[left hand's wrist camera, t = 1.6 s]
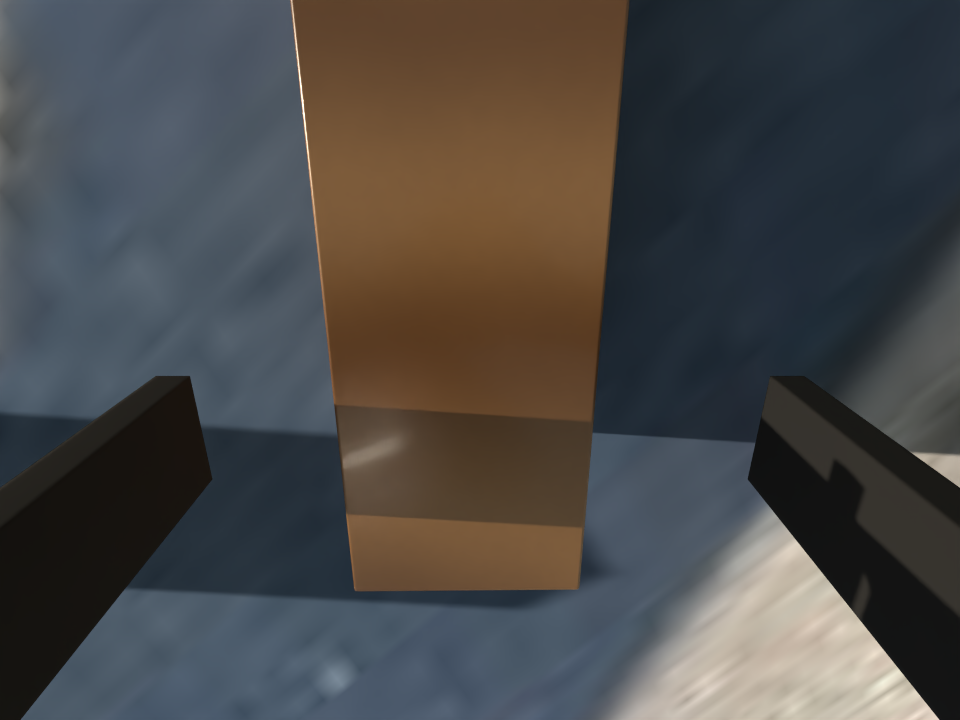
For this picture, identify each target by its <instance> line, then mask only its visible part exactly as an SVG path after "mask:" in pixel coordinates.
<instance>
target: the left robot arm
mask: <svg viewBox="0 0 960 720" xmlns="http://www.w3.org/2000/svg"><path fill="white" fill-rule="evenodd" d="M211 480H212V476H211V471H210V466H209V462H208V457H207V453H206V448H205V444H204V439H203V434H202V430H201V425H200V421H199V416H198V411H197V407H196V402H195V398H194V393H193V389H192V384H191V379H190V376H155V377H154V378H153V379H151V380H150V381H148V382H147V383H146V384H144V385H143V386H141V387H140V388H139V389H137V390H136V391H134V392H133V393H132V394H130V395H129V396H127V397H126V398H125V399H123V400H122V401H120V402H119V403H118V404H116V405H115V406H114V407H112V408H111V409H109V410H108V411H107V412H105V413H104V414H102V415H101V416H100V417H98V418H97V419H95V420H94V421H93V422H91V423H90V424H88V425H87V426H86V427H84V428H83V429H81V430H80V431H79V432H77V433H76V434H74V435H73V436H72V437H70V438H69V439H68V440H66V441H65V442H63V443H62V444H61V445H59V446H58V447H56V448H55V449H54V450H52V451H51V452H49V453H48V454H47V455H45V456H44V457H42V458H41V459H40V460H38V461H37V462H35V463H34V464H33V465H31V466H30V467H29V468H27V469H26V470H24V471H23V472H22V473H20V474H19V475H17V476H16V477H15V478H13V479H12V480H10V481H9V482H8V483H6V484H5V485H3V486H2V487H1V488H0V720H21V718H22V717H23V716H24V715H25V713H26V712H27V711H28V710H29V708H30V707H31V706H32V705H33V703H34V702H35V701H36V700H37V698H38V697H39V696H40V695H41V693H42V692H43V691H44V690H45V688H46V687H47V686H48V685H49V683H50V682H51V681H52V680H53V678H54V677H55V676H56V675H57V673H58V672H59V671H60V670H61V668H62V667H63V666H64V665H65V663H66V662H67V661H68V660H69V658H70V657H71V656H72V654H73V653H74V652H75V651H76V649H77V648H78V647H79V646H80V644H81V643H82V642H83V641H84V639H85V638H86V637H87V636H88V634H89V633H90V632H91V631H92V629H93V628H94V627H95V626H96V624H97V623H98V622H99V621H100V619H101V618H102V617H103V616H104V614H105V613H106V612H107V611H108V609H109V608H110V607H111V606H112V604H113V603H114V602H115V601H116V599H117V598H118V597H119V596H120V594H121V593H122V592H123V591H124V589H125V588H126V587H127V586H128V584H129V583H130V582H131V581H132V579H133V578H134V577H135V576H136V574H137V573H138V572H139V570H140V569H141V568H142V567H143V565H144V564H145V563H146V562H147V560H148V559H149V558H150V557H151V555H152V554H153V553H154V552H155V550H156V549H157V548H158V547H159V545H160V544H161V543H162V542H163V540H164V539H165V538H166V537H167V535H168V534H169V533H170V532H171V530H172V529H173V528H174V527H175V525H176V524H177V523H178V522H179V520H180V519H181V518H182V517H183V515H184V514H185V513H186V512H187V510H188V509H189V508H190V507H191V505H192V504H193V503H194V502H195V500H196V499H197V498H198V497H199V495H200V494H201V493H202V491H203V490H204V489H205V488H206V486H207V485H208V484H209V483H210V481H211ZM748 480H749V481H750V483H751V484H752V485H753V486H754V488H755V489H756V490H757V491H758V493H759V494H760V495H761V497H762V498H763V499H764V500H765V502H766V503H767V504H768V505H769V507H770V508H771V509H772V510H773V512H774V513H775V514H776V515H777V517H778V518H779V519H780V520H781V522H782V523H783V524H784V525H785V527H786V528H787V529H788V530H789V532H790V533H791V534H792V535H793V537H794V538H795V539H796V540H797V542H798V543H799V544H800V545H801V547H802V548H803V549H804V550H805V552H806V553H807V554H808V555H809V557H810V558H811V559H812V560H813V562H814V563H815V564H816V565H817V567H818V568H819V569H820V570H821V572H822V573H823V574H824V576H825V577H826V578H827V579H828V581H829V582H830V583H831V584H832V586H833V587H834V588H835V589H836V591H837V592H838V593H839V594H840V596H841V597H842V598H843V599H844V601H845V602H846V603H847V604H848V606H849V607H850V608H851V609H852V611H853V612H854V613H855V614H856V616H857V617H858V618H859V619H860V621H861V622H862V623H863V624H864V626H865V627H866V628H867V629H868V631H869V632H870V633H871V634H872V636H873V637H874V638H875V639H876V641H877V642H878V643H879V644H880V646H881V647H882V648H883V649H884V651H885V652H886V653H887V655H888V656H889V657H890V658H891V660H892V661H893V662H894V663H895V665H896V666H897V667H898V668H899V670H900V671H901V672H902V673H903V675H904V676H905V677H906V678H907V680H908V681H909V682H910V683H911V685H912V686H913V687H914V688H915V690H916V691H917V692H918V693H919V695H920V696H921V697H922V698H923V700H924V701H925V702H926V703H927V705H928V706H929V707H930V708H931V710H932V711H933V712H934V713H935V715H936V716H937V717H938V718H939V720H960V488H959V487H958V486H957V485H955V484H954V483H952V482H951V481H950V480H948V479H947V478H945V477H944V476H943V475H941V474H940V473H938V472H937V471H936V470H934V469H933V468H931V467H930V466H929V465H927V464H926V463H925V462H923V461H922V460H920V459H919V458H918V457H916V456H915V455H913V454H912V453H911V452H909V451H908V450H906V449H905V448H904V447H902V446H901V445H899V444H898V443H897V442H895V441H894V440H892V439H891V438H890V437H888V436H887V435H886V434H884V433H883V432H881V431H880V430H879V429H877V428H876V427H874V426H873V425H872V424H870V423H869V422H867V421H866V420H865V419H863V418H862V417H860V416H859V415H858V414H856V413H855V412H853V411H852V410H851V409H849V408H848V407H846V406H845V405H844V404H842V403H841V402H840V401H838V400H837V399H835V398H834V397H833V396H831V395H830V394H828V393H827V392H826V391H824V390H823V389H821V388H820V387H819V386H817V385H816V384H814V383H813V382H812V381H810V380H809V379H807V378H806V377H805V376H770V379H769V384H768V389H767V393H766V398H765V402H764V407H763V411H762V416H761V421H760V425H759V430H758V434H757V439H756V444H755V448H754V453H753V457H752V462H751V466H750V471H749V476H748Z"/></svg>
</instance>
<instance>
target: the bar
mask: <svg viewBox="0 0 960 720" xmlns="http://www.w3.org/2000/svg"><path fill="white" fill-rule="evenodd" d="M629 2H630V0H290V3H291V12H292V21H293V30H294V39H295V48H296V58H297V67H298V76H299V85H300V94H301V104H302V113H303V122H304V131H305V140H306V149H307V159H308V168H309V177H310V186H311V195H312V205H313V214H314V223H315V232H316V241H317V250H318V260H319V269H320V278H321V287H322V296H323V306H324V315H325V324H326V333H327V342H328V351H329V361H330V370H331V379H332V388H333V397H334V407H335V416H336V425H337V434H338V443H339V452H340V462H341V471H342V480H343V489H344V498H345V508H346V517H347V526H348V535H349V544H350V554H351V563H352V572H353V581H354V589H355V591H450V590H567V589H578V588H579V585H580V573H581V561H582V550H583V538H584V526H585V515H586V503H587V491H588V480H589V468H590V456H591V445H592V433H593V422H594V410H595V398H596V387H597V375H598V363H599V352H600V340H601V328H602V317H603V305H604V293H605V282H606V270H607V258H608V247H609V235H610V224H611V212H612V200H613V189H614V177H615V165H616V154H617V142H618V130H619V119H620V107H621V95H622V84H623V72H624V60H625V49H626V37H627V26H628V14H629Z"/></svg>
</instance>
